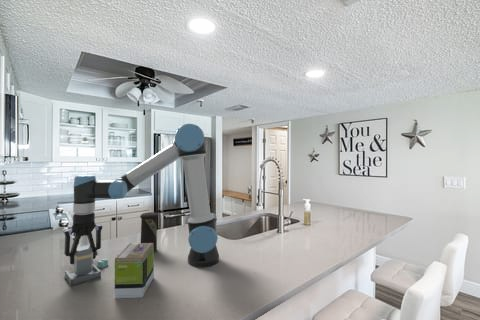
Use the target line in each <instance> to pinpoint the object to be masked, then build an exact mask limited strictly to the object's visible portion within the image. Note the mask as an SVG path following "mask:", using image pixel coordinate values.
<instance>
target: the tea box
mask: <svg viewBox="0 0 480 320" xmlns="http://www.w3.org/2000/svg"><path fill="white" fill-rule="evenodd" d="M154 254H155V252H154V243H141V242H140V243H138V242H137V243H136V242H134V243H131V242H130V243H129V244H128V245H126V247H125V248H124V249H123V250H122V251H121V252H120V253H119V254H118V255H117V256H115V258H114V299H139V298H140V299H141V298H143V297H145V294H146V292H147V290H148V289H149V287H150V285H151V283H152V281H153V279H154V276H155V269H154V268H155V265H154V259H155V258H154V257H155V255H154Z"/></svg>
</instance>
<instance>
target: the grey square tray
mask: <svg viewBox="0 0 480 320" xmlns="http://www.w3.org/2000/svg"><path fill="white" fill-rule="evenodd" d="M64 277H65V279H66V280H67V282H68V283H69V285H70V287H73V286H77V285H80V284H83V283H86V282H91V281H93V280H97V279H100V278H102V271H101V270H100V269H99V267H97V265H95V264H94V263H93V268H92V269H91V273H87V274H84V275H80V276H76V274H75V273H74V272H71V273H69V271H68V270H64Z"/></svg>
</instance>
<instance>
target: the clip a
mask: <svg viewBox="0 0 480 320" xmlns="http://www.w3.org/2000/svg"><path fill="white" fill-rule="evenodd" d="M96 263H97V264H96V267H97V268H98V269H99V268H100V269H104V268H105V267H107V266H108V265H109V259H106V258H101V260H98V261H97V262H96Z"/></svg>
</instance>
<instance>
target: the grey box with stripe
mask: <svg viewBox="0 0 480 320" xmlns="http://www.w3.org/2000/svg"><path fill="white" fill-rule="evenodd" d="M75 255H76V256H77V272H76V273H75V274H76V276H80V275H84V274H87V273H91V269H92V248H91V247H90V246H89V245H86V246H81V247H77V250H76V253H75Z"/></svg>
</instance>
